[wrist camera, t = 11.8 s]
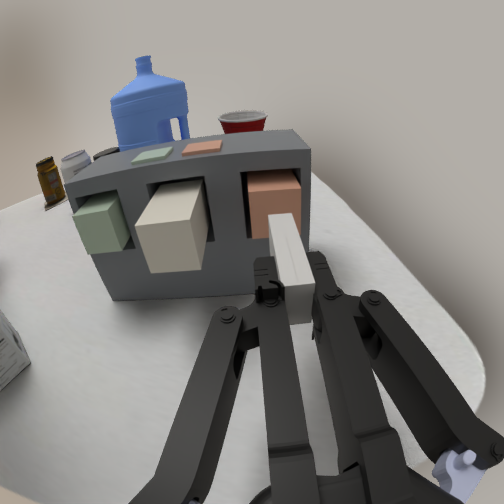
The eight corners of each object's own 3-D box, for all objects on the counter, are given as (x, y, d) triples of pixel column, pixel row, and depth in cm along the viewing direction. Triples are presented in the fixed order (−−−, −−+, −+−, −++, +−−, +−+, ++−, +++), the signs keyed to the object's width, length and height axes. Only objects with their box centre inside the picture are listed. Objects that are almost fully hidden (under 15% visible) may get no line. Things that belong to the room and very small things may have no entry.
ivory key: (201, 269, 19) (189, 219, 17) (150, 273, 19) (134, 226, 17) (209, 220, 25) (203, 179, 22) (169, 224, 25) (160, 185, 23)
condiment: (66, 192, 63) (54, 153, 56) (69, 199, 58) (55, 156, 51) (44, 203, 59) (32, 164, 52) (45, 211, 54) (30, 168, 47)
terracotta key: (300, 235, 22) (301, 188, 19) (252, 239, 22) (248, 192, 19) (287, 198, 27) (286, 160, 25) (249, 200, 27) (246, 163, 25)
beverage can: (89, 198, 55) (75, 151, 48) (108, 198, 53) (94, 146, 46) (69, 213, 50) (52, 163, 43) (87, 214, 48) (70, 159, 41)
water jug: (120, 203, 50) (91, 67, 34) (139, 176, 63) (119, 68, 46) (196, 189, 51) (175, 44, 34) (200, 165, 64) (185, 52, 47)
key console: (306, 288, 27) (311, 145, 19) (112, 300, 28) (62, 181, 19) (294, 243, 34) (292, 126, 26) (132, 257, 34) (99, 154, 26)
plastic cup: (227, 175, 56) (220, 119, 49) (220, 161, 65) (214, 113, 58) (277, 167, 58) (274, 113, 51) (263, 155, 66) (260, 108, 59)
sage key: (122, 251, 22) (107, 209, 20) (87, 254, 22) (72, 216, 20) (144, 212, 28) (135, 177, 25) (114, 216, 28) (103, 184, 25)
